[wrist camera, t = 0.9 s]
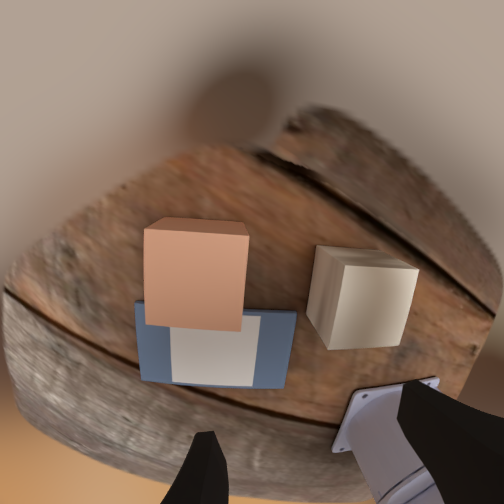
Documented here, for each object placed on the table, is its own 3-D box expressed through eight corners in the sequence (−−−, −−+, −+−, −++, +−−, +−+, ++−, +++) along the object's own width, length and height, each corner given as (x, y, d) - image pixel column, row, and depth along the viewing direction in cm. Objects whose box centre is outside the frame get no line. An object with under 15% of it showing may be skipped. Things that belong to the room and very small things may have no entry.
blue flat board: (295, 310, 18) (297, 313, 18) (282, 384, 20) (283, 388, 19) (135, 300, 17) (134, 303, 17) (142, 376, 18) (141, 380, 18)
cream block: (379, 250, 18) (418, 269, 14) (366, 313, 19) (398, 345, 15) (316, 245, 17) (345, 265, 13) (305, 313, 18) (327, 349, 14)
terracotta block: (243, 222, 17) (249, 235, 12) (236, 296, 18) (240, 331, 13) (164, 216, 16) (144, 228, 12) (163, 291, 17) (145, 324, 13)
